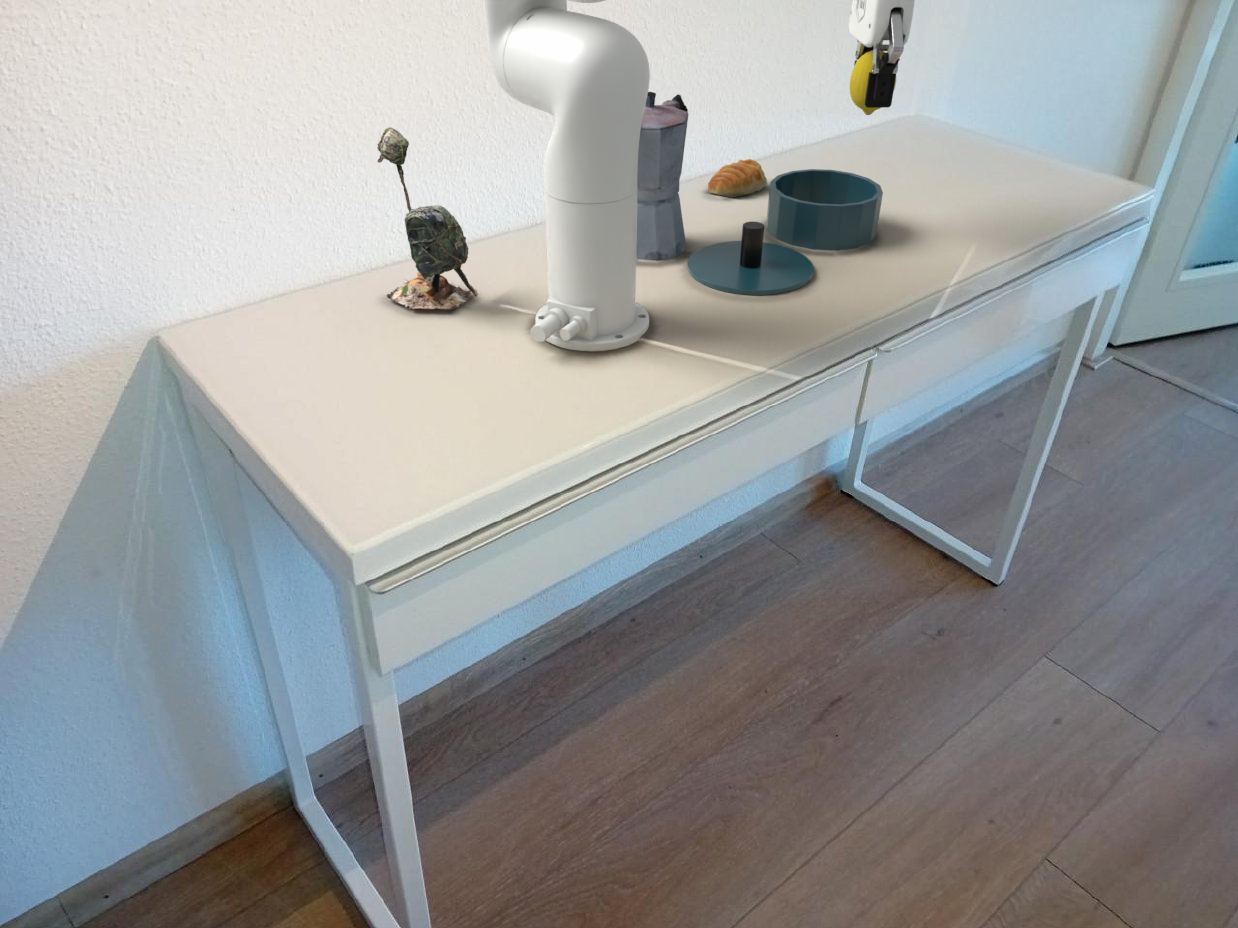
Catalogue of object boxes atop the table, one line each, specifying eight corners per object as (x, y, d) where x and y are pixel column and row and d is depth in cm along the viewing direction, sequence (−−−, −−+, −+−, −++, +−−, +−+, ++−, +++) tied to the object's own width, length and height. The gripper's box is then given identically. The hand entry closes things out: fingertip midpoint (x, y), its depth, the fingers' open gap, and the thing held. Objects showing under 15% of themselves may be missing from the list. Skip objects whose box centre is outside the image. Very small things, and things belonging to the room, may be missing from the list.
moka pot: (590, 263, 123) (588, 99, 112) (644, 224, 134) (648, 71, 123) (658, 278, 119) (663, 110, 108) (708, 236, 131) (718, 80, 119)
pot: (856, 262, 124) (864, 213, 120) (750, 241, 129) (754, 194, 126) (886, 225, 134) (894, 179, 131) (787, 208, 140) (792, 163, 136)
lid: (787, 310, 112) (793, 259, 109) (666, 283, 118) (668, 234, 115) (828, 263, 124) (835, 216, 120) (716, 241, 129) (719, 195, 126)
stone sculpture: (441, 328, 108) (421, 146, 97) (378, 299, 114) (352, 124, 103) (495, 305, 113) (483, 129, 102) (432, 278, 119) (414, 109, 108)
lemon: (886, 110, 125) (897, 43, 121) (893, 122, 121) (904, 53, 116) (843, 108, 126) (852, 42, 121) (847, 120, 121) (857, 52, 117)
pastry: (733, 204, 141) (734, 177, 139) (695, 193, 145) (696, 168, 143) (769, 187, 147) (771, 162, 145) (732, 178, 151) (734, 153, 149)
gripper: (842, -72, 119) (824, 84, 129) (883, -54, 105) (859, 119, 115) (903, -72, 119) (880, 83, 130) (952, -54, 105) (921, 118, 116)
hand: (870, 98), depth 122 cm, fingers closed on lemon, 5 cm apart
